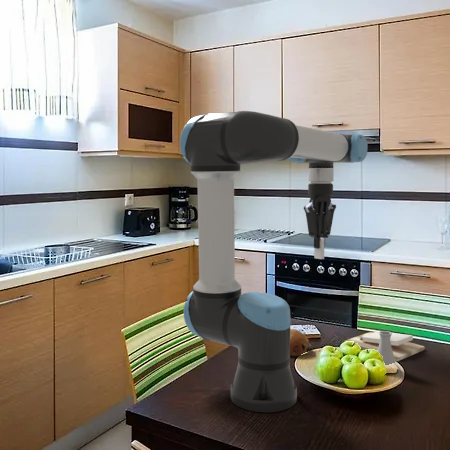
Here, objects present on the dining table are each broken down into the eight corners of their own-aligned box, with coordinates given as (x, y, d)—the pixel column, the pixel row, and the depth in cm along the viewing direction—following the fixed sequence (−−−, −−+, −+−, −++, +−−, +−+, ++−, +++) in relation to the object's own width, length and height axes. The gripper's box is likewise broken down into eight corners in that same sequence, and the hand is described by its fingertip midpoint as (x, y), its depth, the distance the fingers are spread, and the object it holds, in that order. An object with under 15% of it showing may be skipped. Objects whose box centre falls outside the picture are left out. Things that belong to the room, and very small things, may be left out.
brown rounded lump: (295, 355, 155) (287, 329, 157) (320, 349, 147) (311, 322, 149) (272, 363, 148) (264, 336, 150) (297, 357, 141) (288, 329, 143)
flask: (395, 365, 138) (396, 328, 137) (401, 375, 131) (403, 337, 129) (367, 364, 138) (368, 327, 137) (372, 374, 131) (373, 336, 130)
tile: (360, 341, 153) (397, 346, 143) (359, 336, 153) (396, 341, 143) (376, 335, 158) (413, 340, 149) (376, 331, 158) (412, 335, 149)
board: (397, 361, 140) (397, 357, 140) (343, 344, 154) (343, 340, 154) (424, 349, 149) (424, 346, 149) (371, 334, 163) (371, 331, 163)
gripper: (324, 182, 165) (323, 254, 168) (297, 182, 157) (295, 259, 159) (343, 182, 159) (341, 257, 162) (316, 183, 151) (314, 262, 154)
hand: (319, 258), depth 161 cm, fingers closed
